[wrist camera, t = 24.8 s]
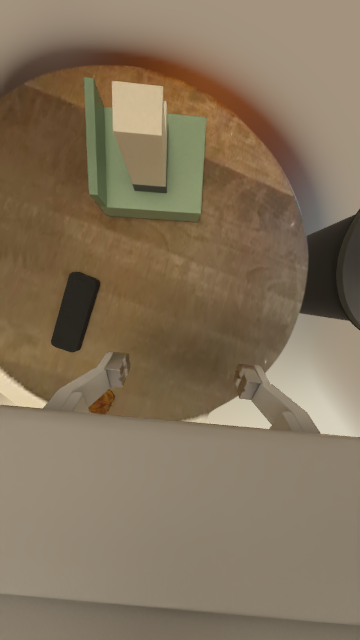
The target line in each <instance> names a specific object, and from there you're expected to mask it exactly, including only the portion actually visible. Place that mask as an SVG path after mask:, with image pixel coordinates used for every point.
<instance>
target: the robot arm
mask: <svg viewBox="0 0 360 640" xmlns="http://www.w3.org/2000/svg"><path fill="white" fill-rule="evenodd" d="M237 369H238V370H237V371H235V374H234V382H235V385H236V386H237V387H238V388H237V392H238V395H239V398H240V399H249V400H252V402H253V403H254V404H255V405H256V407H257V408H258V409H259V410H260V411H261V413H262V414H263V415H264V416H265V417H266V418H267V420H268V421H269V422H270V423H271V424H272V426H271V427H270V429H261V428H250V427H238V426H228V425H217V424H206V423H195V422H184V421H173V420H162V419H151V418H140V417H129V416H118V415H107V414H96V413H90V411H89V409H88V407H89V406H90V405H92V404H93V403H94V402H95V401H96V400H97V399H98V398H99V397H101V396H102V395H103V394H104V393H105V392H106V391H107V390H108V389H110V387H118V388H123V385H124V383H125V380H126V378H125V376H127V375H128V373H129V370H130V361H129V354H127V353H118V352H107V353H106V354H105V355H104V357H103V358H102V360H101V361H100V363H99V365H98V366H97V368H93V369H92V370H90V371H88V372H87V373H85V374H83V375H82V376H80V377H78V378H77V379H75V380H73V381H72V382H70V383H68V384H67V385H65V386H63V387H62V388H60V389H58V390H57V392H56V393H55V394H54V395H53V397H52V398H51V399H50V400H49V402H48V403H47V404H46V405H45V407H44V408H43V409H41V408H30V407H19V406H8V405H0V640H360V437H350V436H338V435H328V434H320V432H319V430H318V429H317V427H316V426H315V424H314V423H313V421H312V419H311V418H310V416H309V415H308V414H307V412H305V410H303V409H302V408H301V407H300V406H298V405H297V404H296V403H295V402H293V401H292V400H291V399H290V398H289V397H287V396H286V395H285V394H283V393H282V392H281V391H280V390H279V389H277V388H276V387H275V386H274V385H272V384H270V383H269V381H268V379H267V377H266V375H265V373H264V371H263V369H262V368H261V366H260V365H249V364H238V366H237Z"/></svg>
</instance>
